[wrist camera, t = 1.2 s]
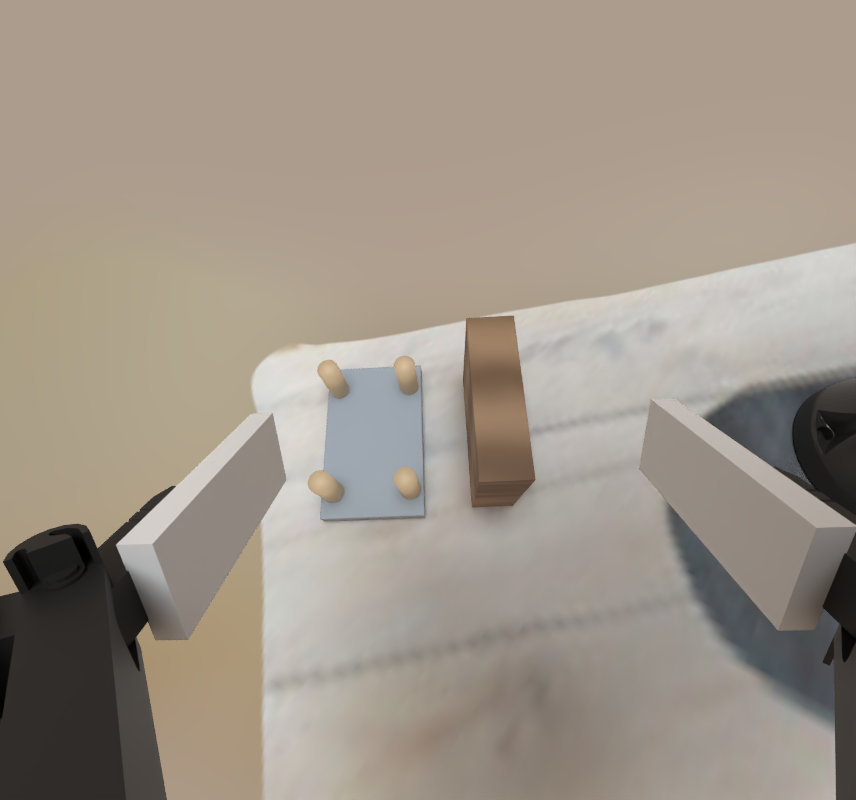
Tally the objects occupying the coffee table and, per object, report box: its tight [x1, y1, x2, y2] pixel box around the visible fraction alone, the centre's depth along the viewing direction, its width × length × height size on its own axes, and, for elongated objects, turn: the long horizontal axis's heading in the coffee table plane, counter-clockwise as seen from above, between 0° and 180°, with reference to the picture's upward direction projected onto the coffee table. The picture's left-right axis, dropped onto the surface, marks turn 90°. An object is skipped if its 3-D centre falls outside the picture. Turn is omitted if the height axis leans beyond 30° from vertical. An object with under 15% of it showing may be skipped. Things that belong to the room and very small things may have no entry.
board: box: [463, 316, 535, 507], centre depth 38 cm, size 14×4×12 cm, turn 2°
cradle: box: [308, 356, 425, 521], centre depth 41 cm, size 16×10×6 cm, turn 2°
